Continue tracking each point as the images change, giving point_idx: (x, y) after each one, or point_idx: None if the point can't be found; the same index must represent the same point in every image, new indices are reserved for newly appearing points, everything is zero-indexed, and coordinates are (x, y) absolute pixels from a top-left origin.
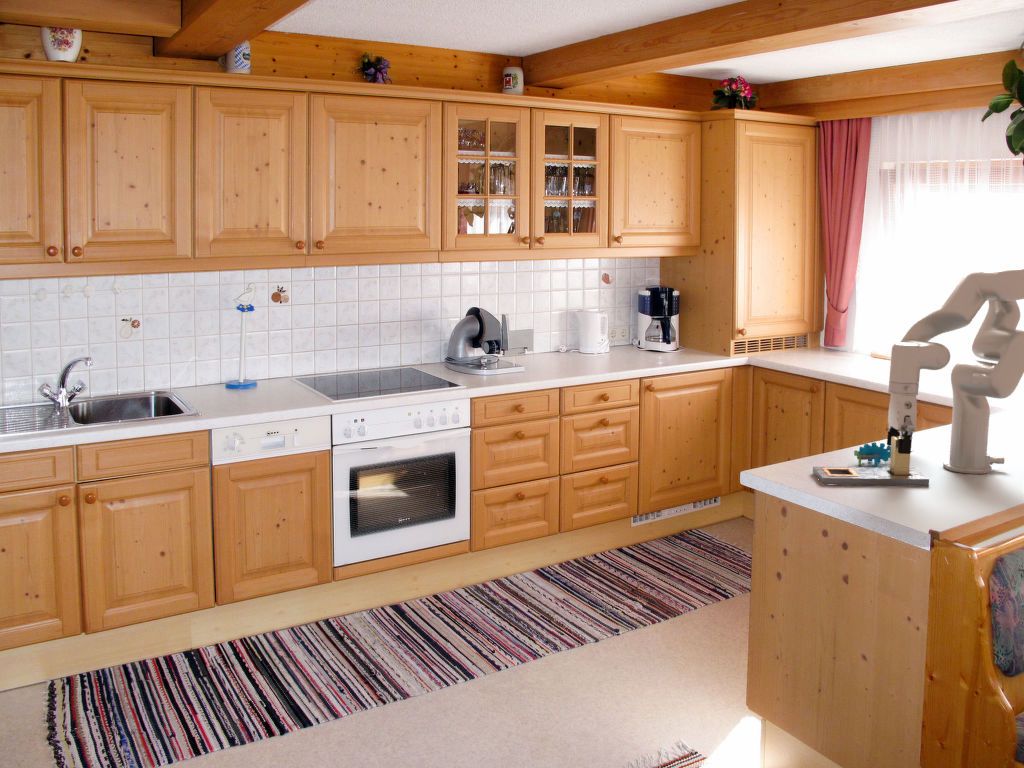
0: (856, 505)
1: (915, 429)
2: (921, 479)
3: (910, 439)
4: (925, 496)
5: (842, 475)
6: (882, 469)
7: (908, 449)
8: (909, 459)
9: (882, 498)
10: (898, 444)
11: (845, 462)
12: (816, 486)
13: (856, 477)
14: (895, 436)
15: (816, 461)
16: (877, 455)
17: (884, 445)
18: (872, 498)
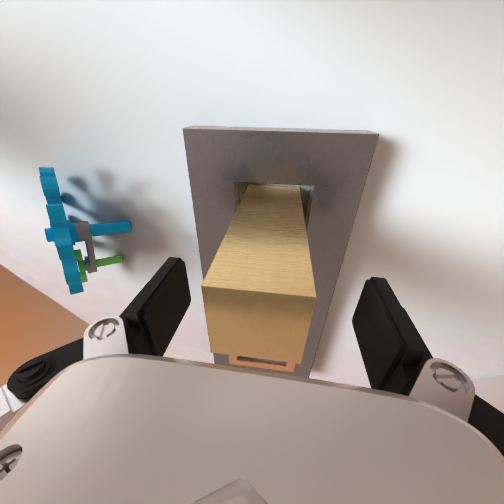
0: (472, 366)
1: (492, 443)
2: (368, 169)
3: (448, 370)
4: (490, 197)
5: None
6: None
7: (406, 312)
8: (304, 226)
9: (447, 311)
10: (366, 361)
11: (99, 277)
12: (314, 374)
13: (311, 335)
14: (211, 338)
15: None
16: (85, 232)
17: (69, 245)
18: (436, 328)
